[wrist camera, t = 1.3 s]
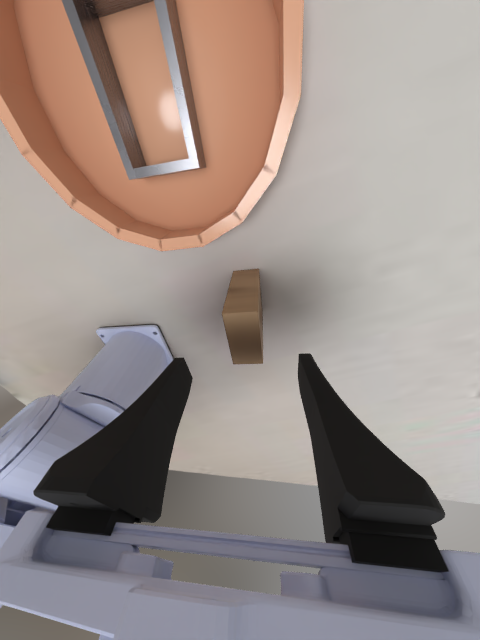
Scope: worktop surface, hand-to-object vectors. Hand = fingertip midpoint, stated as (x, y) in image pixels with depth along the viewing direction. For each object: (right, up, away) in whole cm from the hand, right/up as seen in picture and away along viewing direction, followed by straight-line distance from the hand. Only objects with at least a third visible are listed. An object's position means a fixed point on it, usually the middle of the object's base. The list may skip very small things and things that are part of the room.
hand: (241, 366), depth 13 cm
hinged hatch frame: (-5, +16, -1) cm, 17 cm away
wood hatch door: (+1, +6, +8) cm, 10 cm away
